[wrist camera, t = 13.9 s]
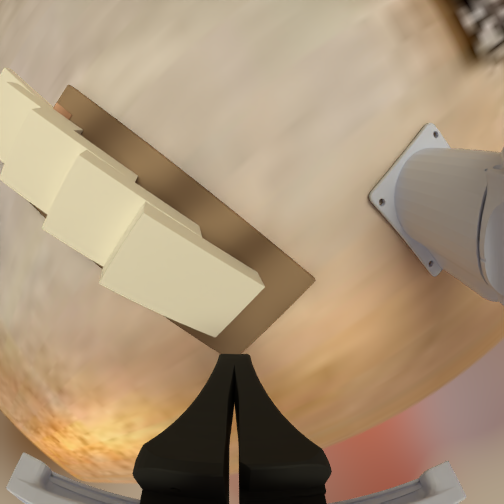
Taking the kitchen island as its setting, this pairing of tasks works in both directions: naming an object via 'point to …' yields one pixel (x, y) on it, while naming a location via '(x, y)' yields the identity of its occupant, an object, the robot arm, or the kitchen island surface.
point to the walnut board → (197, 222)
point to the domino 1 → (11, 76)
